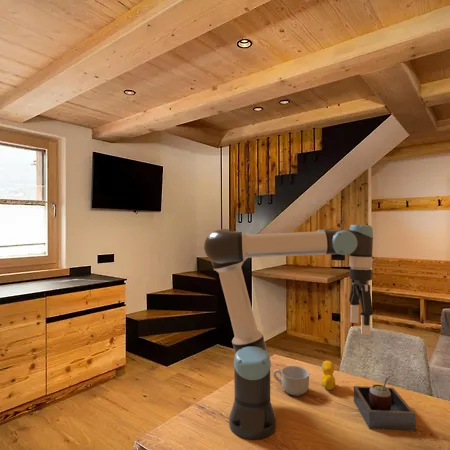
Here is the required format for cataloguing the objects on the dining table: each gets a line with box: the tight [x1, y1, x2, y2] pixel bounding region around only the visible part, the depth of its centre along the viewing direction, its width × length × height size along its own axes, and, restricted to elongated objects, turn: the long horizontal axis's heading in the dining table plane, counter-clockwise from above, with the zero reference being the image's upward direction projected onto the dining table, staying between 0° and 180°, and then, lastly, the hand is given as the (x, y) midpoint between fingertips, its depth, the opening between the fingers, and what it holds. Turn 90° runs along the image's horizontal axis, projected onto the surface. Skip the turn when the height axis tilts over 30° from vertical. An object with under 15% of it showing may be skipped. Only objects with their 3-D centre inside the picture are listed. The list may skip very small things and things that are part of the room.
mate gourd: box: [369, 373, 395, 411], centre depth 115 cm, size 8×8×15 cm
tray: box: [353, 385, 416, 432], centre depth 115 cm, size 14×17×6 cm
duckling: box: [320, 359, 336, 391], centre depth 134 cm, size 11×5×10 cm, turn 167°
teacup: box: [272, 365, 310, 397], centre depth 132 cm, size 14×11×8 cm
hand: (359, 328), depth 119 cm, fingers open, 13 cm apart
